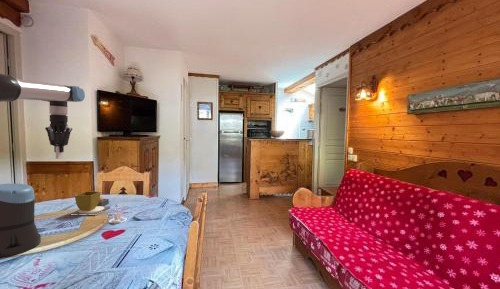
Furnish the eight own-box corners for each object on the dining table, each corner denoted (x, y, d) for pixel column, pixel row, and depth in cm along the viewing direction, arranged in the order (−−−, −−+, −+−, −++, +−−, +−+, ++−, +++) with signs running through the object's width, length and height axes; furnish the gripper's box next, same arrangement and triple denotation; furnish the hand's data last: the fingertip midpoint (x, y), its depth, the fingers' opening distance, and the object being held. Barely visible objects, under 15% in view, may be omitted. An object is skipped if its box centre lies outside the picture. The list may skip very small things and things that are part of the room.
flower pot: (90, 212, 124) (90, 195, 124) (74, 211, 124) (74, 195, 124) (101, 207, 133) (101, 191, 133) (85, 206, 133) (85, 191, 133)
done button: (100, 203, 138) (100, 198, 138) (93, 203, 138) (93, 198, 138) (104, 201, 142) (104, 196, 142) (98, 201, 142) (98, 196, 142)
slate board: (95, 215, 122) (95, 213, 122) (70, 215, 122) (70, 213, 122) (110, 208, 135) (110, 206, 135) (87, 207, 135) (87, 205, 135)
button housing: (101, 207, 137) (101, 202, 137) (89, 206, 137) (89, 201, 136) (108, 203, 144) (108, 198, 144) (97, 203, 144) (97, 198, 143)
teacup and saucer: (117, 225, 111) (117, 217, 111) (103, 223, 112) (103, 215, 112) (130, 219, 119) (130, 211, 119) (117, 217, 121) (117, 210, 121)
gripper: (76, 115, 128) (76, 158, 129) (52, 115, 128) (52, 157, 129) (65, 114, 121) (65, 159, 122) (40, 113, 121) (40, 158, 122)
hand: (59, 158), depth 125 cm, fingers closed
